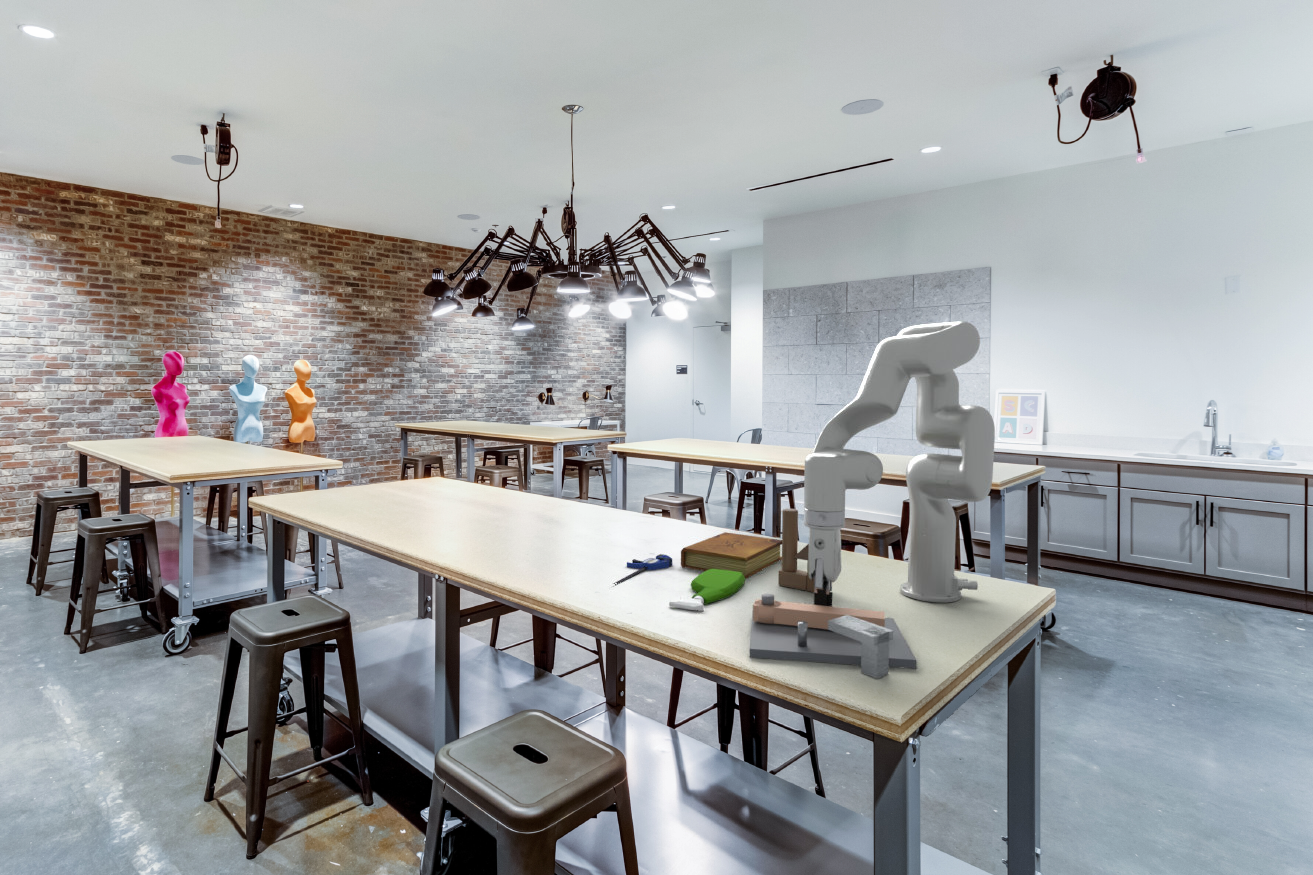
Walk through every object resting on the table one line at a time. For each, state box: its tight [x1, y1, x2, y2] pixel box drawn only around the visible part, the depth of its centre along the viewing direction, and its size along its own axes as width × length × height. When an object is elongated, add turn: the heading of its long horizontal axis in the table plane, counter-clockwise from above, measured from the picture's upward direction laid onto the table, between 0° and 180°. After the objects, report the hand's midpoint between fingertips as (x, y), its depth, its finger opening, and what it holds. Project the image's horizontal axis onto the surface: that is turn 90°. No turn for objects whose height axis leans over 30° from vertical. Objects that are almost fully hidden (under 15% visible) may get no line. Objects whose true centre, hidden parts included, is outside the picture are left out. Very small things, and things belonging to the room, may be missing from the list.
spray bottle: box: [668, 569, 746, 612], centre depth 145 cm, size 3×11×24 cm
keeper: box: [798, 615, 893, 680], centre depth 108 cm, size 14×7×7 cm, turn 35°
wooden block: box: [777, 508, 814, 594], centre depth 149 cm, size 4×11×18 cm, turn 52°
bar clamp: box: [613, 553, 673, 586], centre depth 160 cm, size 32×2×10 cm
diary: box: [680, 531, 782, 579], centre depth 172 cm, size 23×19×6 cm
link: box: [752, 593, 886, 629], centre depth 120 cm, size 24×5×4 cm, turn 72°
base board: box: [749, 609, 918, 670], centre depth 118 cm, size 27×20×2 cm
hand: (823, 612), depth 124 cm, fingers closed
